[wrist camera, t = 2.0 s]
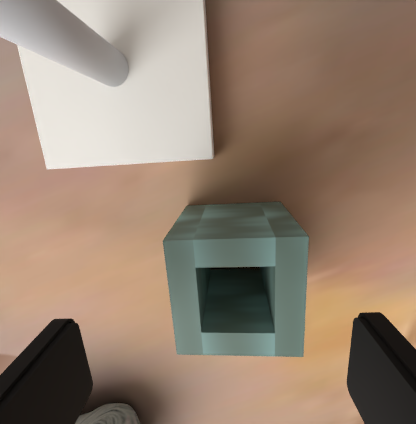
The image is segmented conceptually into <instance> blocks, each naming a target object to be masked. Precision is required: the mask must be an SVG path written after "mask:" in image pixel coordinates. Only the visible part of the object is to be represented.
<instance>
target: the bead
mask: <svg viewBox="0 0 416 424" xmlns="http://www.w3.org/2000/svg"><path fill="white" fill-rule="evenodd" d="M308 242H309V236H308V235H307V234H306V232H305V231H304V230H303V229H302V228H301V226H300V225H299V224H298V223H297V221H296V220H295V219H294V218H293V217H292V215H291V214H290V213H289V212H288V211H287V209H286V208H285V207H284V206H283V204H282V203H281V202H259V203H236V204H213V205H191V206H186V208H185V209H184V211H183V212H182V213H181V215H180V216H179V218H178V219H177V221H176V222H175V224H174V225H173V227H172V228H171V230H170V231H169V232H168V234H167V235H166V237H165V238H164V240H163V246H164V254H165V262H166V270H167V278H168V286H169V294H170V302H171V310H172V318H173V326H174V334H175V342H176V350H177V354H182V355H234V356H285V357H303V353H304V331H305V309H306V287H307V264H308ZM211 267H260V269H212V270H211Z"/></svg>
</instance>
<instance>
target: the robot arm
mask: <svg viewBox="0 0 416 424" xmlns="http://www.w3.org/2000/svg"><path fill="white" fill-rule="evenodd" d="M92 387H93V381H92V377H91V373H90V369H89V365H88V361H87V357H86V353H85V349H84V345H83V341H82V337H81V333H80V329H79V325H78V324H77V323H75V322H74V320H73V319H54V320H53V321H51V322H50V323H49V324H48V325H47V326H46V327H45V329H44V330H43V331H42V332H41V333H40V334H39V335H38V336H37V337H36V338H35V339H34V340H33V341H32V342H31V343H30V344H29V345H28V346H27V347H26V349H25V350H24V351H23V352H22V353H21V354H20V355H19V356H18V357H17V358H16V359H15V360H14V361H13V362H12V363H11V364H10V365H9V366H8V367H7V369H6V370H5V371H4V372H3V373H2V374H1V375H0V424H75V423H76V421H77V419H78V417H79V415H80V413H81V411H82V409H83V407H84V405H85V404H86V402H87V400H88V398H89V396H90V394H91V391H92ZM347 387H348V391H349V393H350V396H351V398H352V400H353V402H354V404H355V406H356V408H357V410H358V412H359V413H360V415H361V417H362V419H363V421H364V423H365V424H416V349H415V348H414V347H413V346H412V345H411V344H410V343H409V342H408V341H407V340H406V338H405V337H404V336H403V335H402V334H401V333H400V332H399V331H398V330H397V329H396V328H395V327H394V326H393V324H392V323H391V322H390V321H389V320H388V319H387V318H386V317H385V316H384V315H383V314H382V313H379V312H375V313H360V314H359V316H358V318H354V321H353V329H352V338H351V347H350V357H349V366H348V375H347Z"/></svg>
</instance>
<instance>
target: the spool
mask: <svg viewBox="0 0 416 424" xmlns="http://www.w3.org/2000/svg"><path fill="white" fill-rule="evenodd" d="M75 424H140V422H139V419H138V417H137V414H136V413H135V411H134V410H133V408H132V407H131V406H129V405H127V404H123V403H111V404H105V405H103V406H100V407H98V408H97V409H95V410H94V411H92V412H89V413H86V414H83V415H81V416H79V417H78V419H77V421H76V423H75Z"/></svg>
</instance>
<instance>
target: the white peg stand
mask: <svg viewBox="0 0 416 424" xmlns="http://www.w3.org/2000/svg"><path fill="white" fill-rule="evenodd" d="M0 37H1V38H4V39H6V40H8V41H10V42H13V43H15V44H17V47H18V51H19V55H20V59H21V63H22V67H23V72H24V76H25V80H26V84H27V88H28V92H29V97H30V101H31V105H32V109H33V113H34V117H35V122H36V126H37V130H38V134H39V138H40V142H41V147H42V151H43V155H44V159H45V163H46V167H47V169H60V168H76V167H92V166H108V165H123V164H139V163H155V162H171V161H187V160H203V159H213V158H214V143H213V126H212V109H211V92H210V75H209V58H208V41H207V24H206V7H205V0H0Z"/></svg>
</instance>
